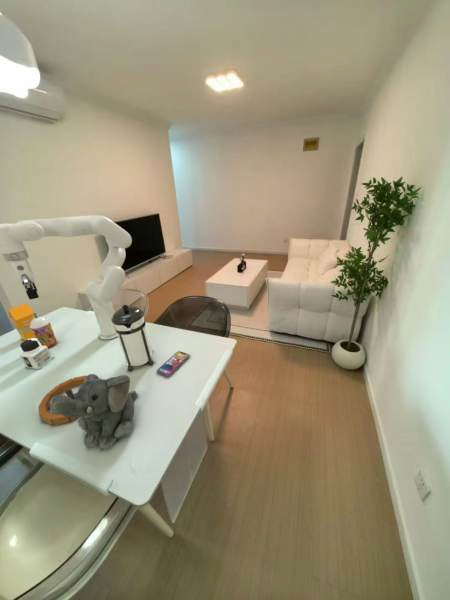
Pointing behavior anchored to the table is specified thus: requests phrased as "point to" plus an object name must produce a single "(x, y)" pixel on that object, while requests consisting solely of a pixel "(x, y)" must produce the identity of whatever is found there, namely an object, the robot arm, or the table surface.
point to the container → (34, 354)
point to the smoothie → (43, 331)
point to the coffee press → (132, 336)
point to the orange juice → (23, 320)
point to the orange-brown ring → (56, 391)
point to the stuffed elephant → (99, 409)
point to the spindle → (70, 393)
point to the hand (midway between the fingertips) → (33, 295)
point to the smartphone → (173, 363)
